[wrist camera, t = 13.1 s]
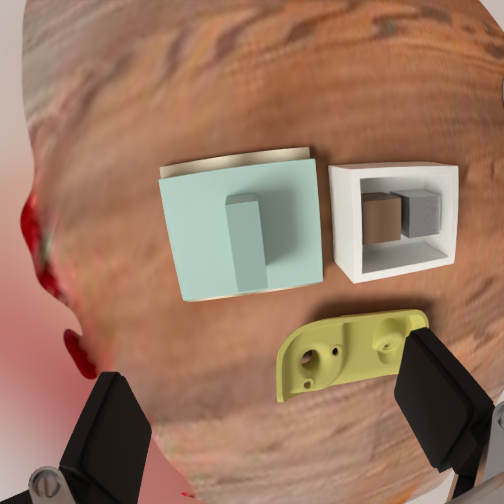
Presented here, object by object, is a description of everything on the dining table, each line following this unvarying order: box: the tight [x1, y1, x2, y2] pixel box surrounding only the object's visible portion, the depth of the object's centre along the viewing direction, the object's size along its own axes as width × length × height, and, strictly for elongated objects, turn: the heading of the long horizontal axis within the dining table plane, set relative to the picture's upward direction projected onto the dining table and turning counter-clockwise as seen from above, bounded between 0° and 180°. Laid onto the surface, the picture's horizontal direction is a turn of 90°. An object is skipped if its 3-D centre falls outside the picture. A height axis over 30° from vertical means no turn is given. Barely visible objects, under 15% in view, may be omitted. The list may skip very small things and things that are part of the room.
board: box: [160, 147, 319, 302], centre depth 29 cm, size 14×14×1 cm
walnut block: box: [361, 192, 401, 245], centre depth 27 cm, size 4×4×4 cm
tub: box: [328, 161, 458, 283], centre depth 27 cm, size 12×10×6 cm
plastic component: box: [276, 309, 429, 402], centre depth 34 cm, size 20×7×10 cm
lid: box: [159, 158, 323, 301], centre depth 26 cm, size 14×12×6 cm
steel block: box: [390, 189, 441, 239], centre depth 27 cm, size 4×4×4 cm
